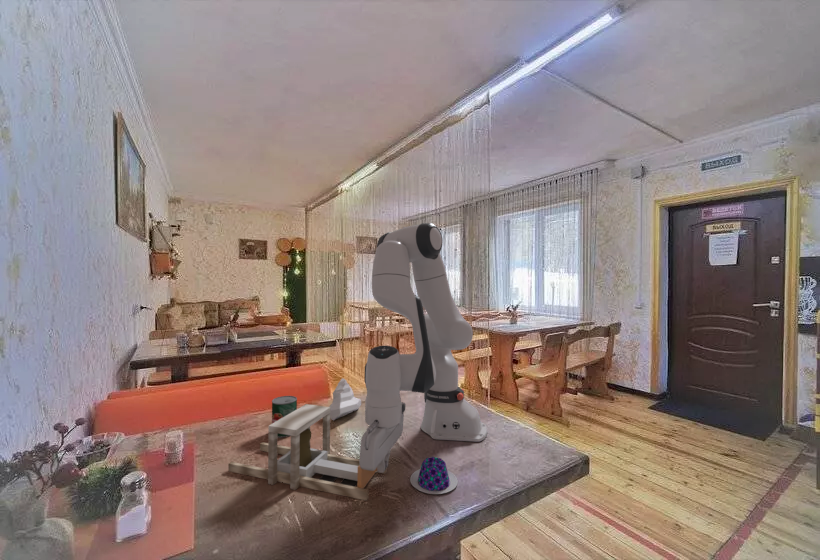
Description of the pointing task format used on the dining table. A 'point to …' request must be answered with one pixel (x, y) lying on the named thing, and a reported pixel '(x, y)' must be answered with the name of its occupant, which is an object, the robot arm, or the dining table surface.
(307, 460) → the olive rounded cylinder
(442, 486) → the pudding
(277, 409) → the canned tomato
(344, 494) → the tunnel track
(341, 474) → the sled fence
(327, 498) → the dining table surface
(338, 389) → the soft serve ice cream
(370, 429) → the robot arm
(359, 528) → the dining table surface
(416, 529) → the dining table surface
